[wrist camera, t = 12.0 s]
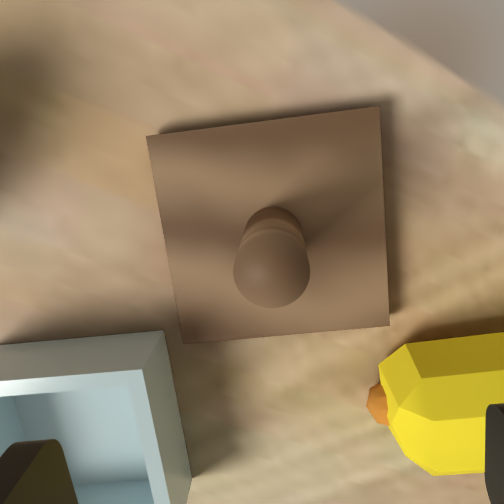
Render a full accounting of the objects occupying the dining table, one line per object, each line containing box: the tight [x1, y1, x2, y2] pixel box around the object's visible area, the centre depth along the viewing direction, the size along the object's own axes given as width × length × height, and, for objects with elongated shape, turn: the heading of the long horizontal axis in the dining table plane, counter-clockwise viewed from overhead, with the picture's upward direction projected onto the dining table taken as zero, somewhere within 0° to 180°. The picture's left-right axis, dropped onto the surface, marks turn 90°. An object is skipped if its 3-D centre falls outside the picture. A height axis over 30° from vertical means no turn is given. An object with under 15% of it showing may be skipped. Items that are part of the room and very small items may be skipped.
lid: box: [146, 106, 390, 344], centre depth 24 cm, size 13×13×8 cm
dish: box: [0, 330, 192, 504], centre depth 30 cm, size 12×12×5 cm
